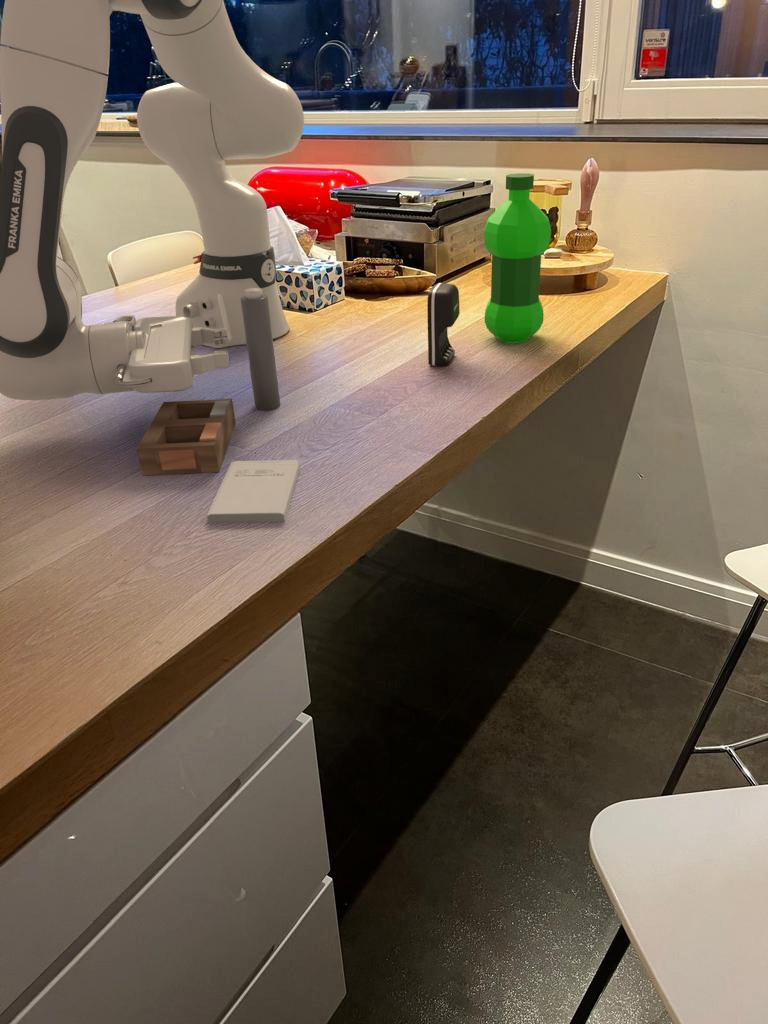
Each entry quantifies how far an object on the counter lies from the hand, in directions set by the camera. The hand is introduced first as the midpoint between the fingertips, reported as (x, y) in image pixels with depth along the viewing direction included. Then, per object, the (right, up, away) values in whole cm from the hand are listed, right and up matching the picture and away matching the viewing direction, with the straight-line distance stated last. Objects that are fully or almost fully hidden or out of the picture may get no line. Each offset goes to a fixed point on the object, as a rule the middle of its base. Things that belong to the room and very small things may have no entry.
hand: (228, 346), depth 103 cm
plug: (+5, -7, +5) cm, 10 cm away
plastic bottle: (+42, +7, +26) cm, 50 cm away
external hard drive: (+7, -21, -16) cm, 27 cm away
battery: (+30, +1, +18) cm, 35 cm away
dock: (-3, -14, -6) cm, 15 cm away
